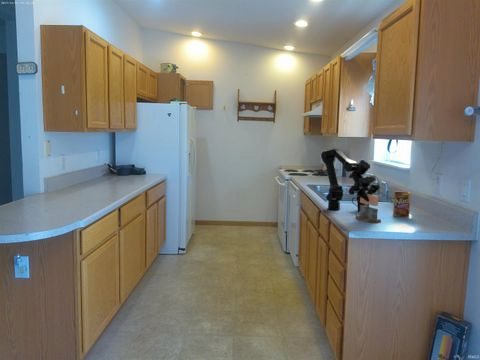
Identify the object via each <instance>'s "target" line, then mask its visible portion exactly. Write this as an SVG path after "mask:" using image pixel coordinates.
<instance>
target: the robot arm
mask: <svg viewBox="0 0 480 360" xmlns="http://www.w3.org/2000/svg"><path fill="white" fill-rule="evenodd" d="M320 157H321V159H322V162H323V164H324V165H325V168H326V172H327V175H328V176H327V177H328V181H329V189H328V193H327V195H326V196H325V198H326V200H327V201H328V203H327V205H328V206H327V208H326V210H328V211H329V210H331V211H338V210H339V211H340V209H341V202H340V201H342V200H343V196H344V189H343V186H342V185H339V182H338V178H337V177H338V176H337V173H336V172H337V171H336V169H335V160H336V159H337V160H338V161H339V162H340V163H341V164H342V165H343V169H345V171H346V172H348V173H349V177H348V178H349V179H352V180H353V185H352V186H351V187H350V188H349V189H348V194H349V196H350V195H355V194H356V196H357V195H358V196H360V197H361V198H363V199H364V200H366V201H367V202H369V198H368V196H367V194H371V195H374V194H375V193H377V192H378V191H379V189H380V188H381V187H380V185H379V184H377V183H376V184H373V183H374V182H375V181H376V177H375V176H374V175H370V176H365V177H364V175H366V173H367V172H368V171H369V169H371V164H370V163H369V162H367V161H365V159H362V160H360V161H359V162H357V161H355V160H353V159H350V158H348V156H346V155H345V154H344V153H343V152H342V151H341V149H339V148H332V149H329V150H324V151H322V152H321V154H320ZM355 192H356V193H355ZM366 193H367V194H366Z"/></svg>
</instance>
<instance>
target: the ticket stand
mask: <svg viewBox="0 0 480 360" xmlns="http://www.w3.org/2000/svg"><path fill="white" fill-rule="evenodd" d="M356 218H357V220H361V221H363V222H366V223H370V224H375V223H377V224H378V223H381V222H382V219H381V218H378V208H375V207H373V206H372V207H371V206H369V207H368V206H364V205H360V211H359V213H358V215H355V219H356Z"/></svg>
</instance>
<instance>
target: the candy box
mask: <svg viewBox="0 0 480 360" xmlns="http://www.w3.org/2000/svg"><path fill="white" fill-rule="evenodd" d="M411 197H412V191H401V190H395V191H394V197H393V209H392V210H393V211H392V216H393V217H401V218H408V219H409V217H410V209H411Z"/></svg>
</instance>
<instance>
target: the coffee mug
mask: <svg viewBox="0 0 480 360" xmlns="http://www.w3.org/2000/svg"><path fill="white" fill-rule="evenodd" d="M354 199H356V201H357V204H356V203H355V202H354V201H353V200H354ZM351 203H352V204H353V206H354V205H355V207H357V212H360V205H364V206H368V207H370V205H368V204H365V203H361V202H360V196H358V195H356V197H353V198H352V199H351Z"/></svg>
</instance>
